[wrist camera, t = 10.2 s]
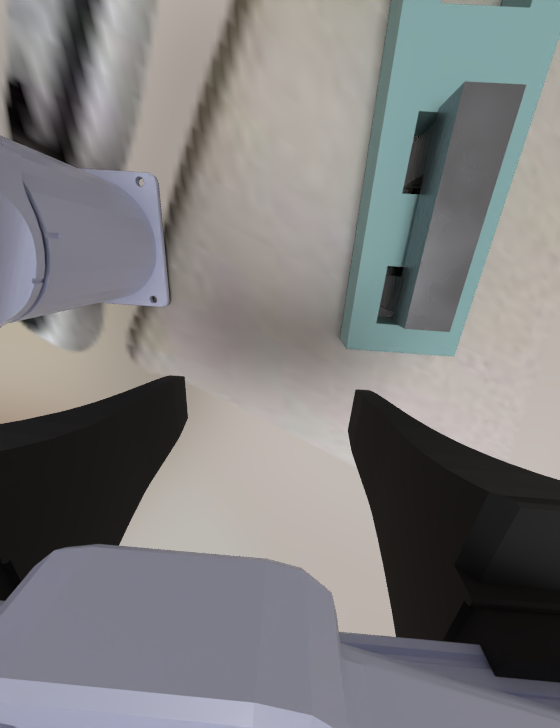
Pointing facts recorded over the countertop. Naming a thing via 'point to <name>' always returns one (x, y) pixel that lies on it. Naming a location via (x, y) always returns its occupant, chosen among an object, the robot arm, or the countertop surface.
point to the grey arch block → (451, 201)
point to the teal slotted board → (414, 117)
